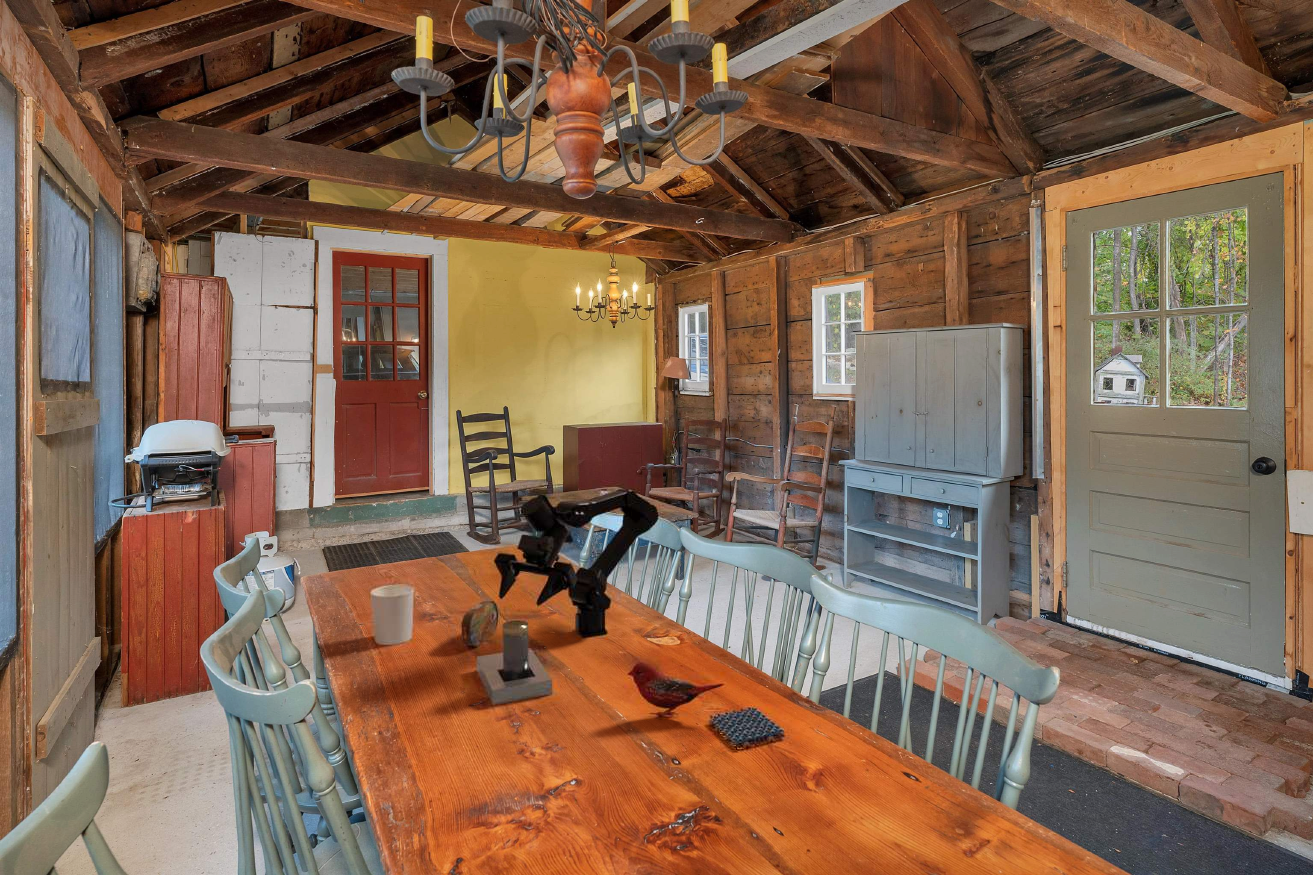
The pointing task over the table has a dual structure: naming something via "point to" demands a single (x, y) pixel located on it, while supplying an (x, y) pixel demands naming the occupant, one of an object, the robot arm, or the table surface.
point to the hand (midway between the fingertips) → (518, 601)
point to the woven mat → (747, 728)
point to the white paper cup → (392, 613)
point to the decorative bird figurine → (665, 688)
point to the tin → (479, 623)
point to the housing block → (516, 689)
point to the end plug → (515, 650)
